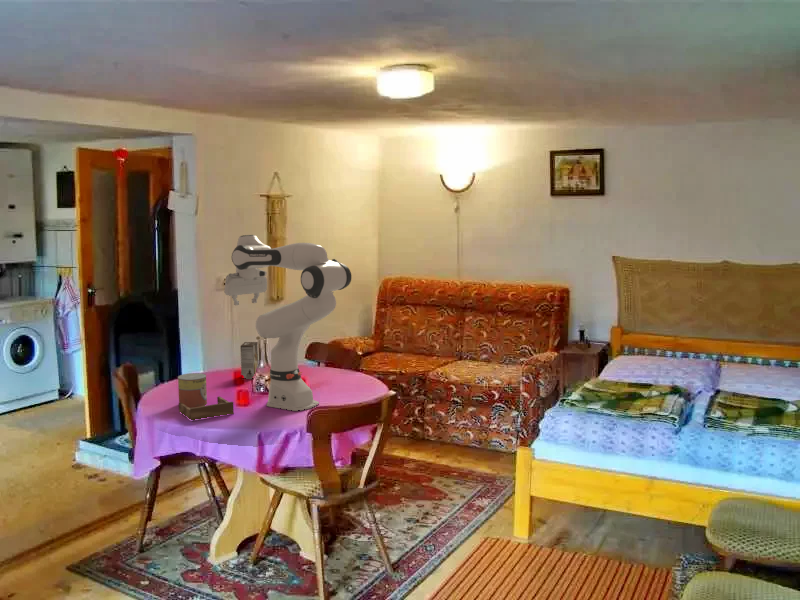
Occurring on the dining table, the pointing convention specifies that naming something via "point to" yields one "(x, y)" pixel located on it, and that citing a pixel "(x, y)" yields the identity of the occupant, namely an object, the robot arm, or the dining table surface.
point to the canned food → (192, 389)
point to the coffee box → (249, 359)
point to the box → (207, 409)
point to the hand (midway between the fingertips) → (245, 304)
